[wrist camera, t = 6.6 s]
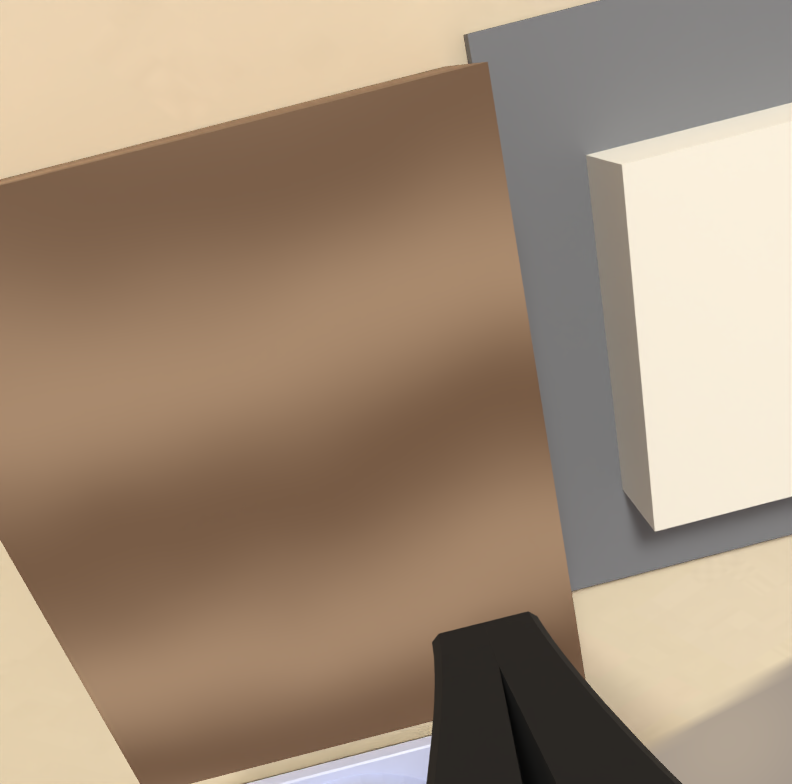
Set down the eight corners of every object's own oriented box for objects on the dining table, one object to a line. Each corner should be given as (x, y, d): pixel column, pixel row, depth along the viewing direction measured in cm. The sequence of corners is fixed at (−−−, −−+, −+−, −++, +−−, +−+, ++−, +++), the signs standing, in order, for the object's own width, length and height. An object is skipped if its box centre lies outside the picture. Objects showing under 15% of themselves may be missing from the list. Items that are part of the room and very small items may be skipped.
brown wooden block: (537, 576, 21) (585, 680, 17) (175, 669, 21) (146, 795, 17) (445, 67, 15) (487, 61, 11) (-58, 194, 15) (-178, 230, 11)
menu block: (654, 531, 18) (622, 489, 19) (887, 471, 18) (833, 435, 19) (621, 164, 14) (586, 155, 16) (917, 89, 14) (846, 88, 16)
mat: (880, 501, 21) (890, 508, 21) (556, 585, 21) (560, 593, 21) (923, -82, 15) (939, -86, 14) (463, 35, 15) (467, 34, 14)
